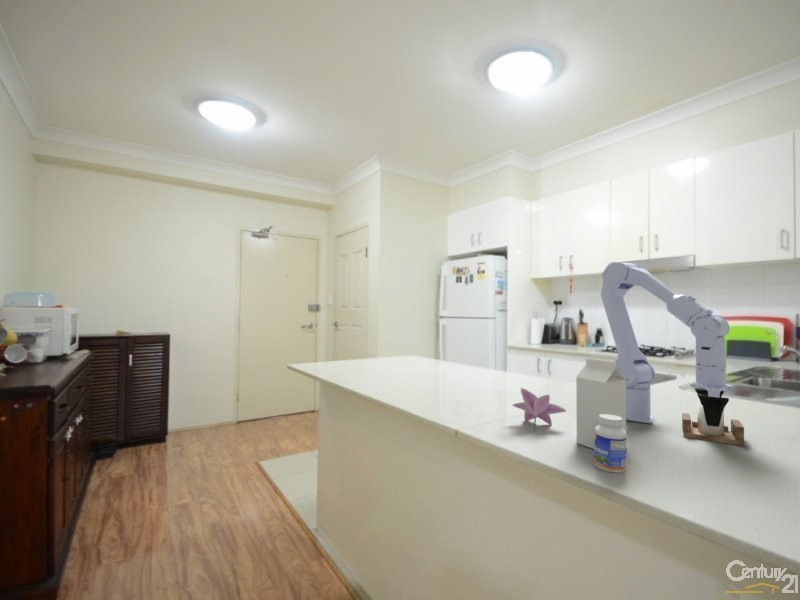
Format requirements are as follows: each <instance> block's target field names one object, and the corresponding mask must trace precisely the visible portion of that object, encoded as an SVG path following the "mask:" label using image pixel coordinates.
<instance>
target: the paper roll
mask: <svg viewBox="0 0 800 600" xmlns="http://www.w3.org/2000/svg"><path fill="white" fill-rule="evenodd" d="M696 407H697V408H696V410H697V417H696V418H697V421H696V422H698V431H699V432H701V433H705V434H709V435H717V436H722V435H724V425H725V409H724V410H723V413H722V416H721V421H720V424H719V427H715V426H708V425H707V423H706V420H705V414H704V409H703V406H702V405H701V404H697V406H696Z"/></svg>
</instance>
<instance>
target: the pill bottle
mask: <svg viewBox="0 0 800 600" xmlns="http://www.w3.org/2000/svg"><path fill="white" fill-rule="evenodd" d="M599 423H600V425H598V426H596V427H595V449H594V456H593V457H594V458H593V459H594V465H595V467H597V468H598V469H599V470H601V471H604V472H607V473H617V474H618V473H619V474H620V473H621V474H622V473H624V472H626V470H627V431H626V432H625V430H624V429H622V428H621V426H622V425H623V420H622V418H621V417H619V416H616V415H610V414H601V415H599Z"/></svg>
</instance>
